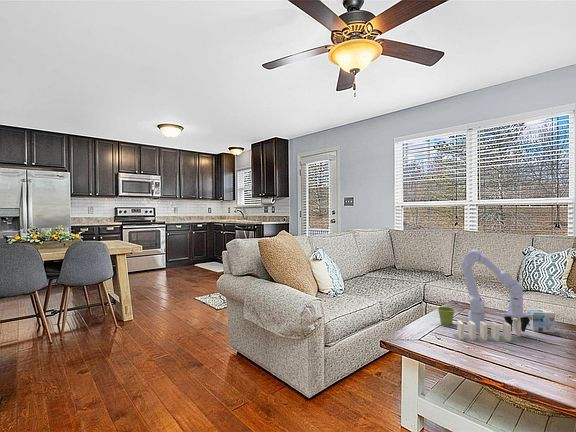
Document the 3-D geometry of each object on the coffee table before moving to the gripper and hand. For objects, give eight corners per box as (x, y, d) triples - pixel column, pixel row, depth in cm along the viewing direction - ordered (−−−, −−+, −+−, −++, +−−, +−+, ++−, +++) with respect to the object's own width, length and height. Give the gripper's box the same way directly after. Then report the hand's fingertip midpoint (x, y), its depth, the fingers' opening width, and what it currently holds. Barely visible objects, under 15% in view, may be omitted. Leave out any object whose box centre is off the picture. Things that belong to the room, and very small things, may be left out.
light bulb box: (532, 331, 173) (532, 312, 172) (526, 327, 179) (526, 308, 179) (555, 332, 170) (555, 312, 170) (548, 328, 177) (548, 309, 176)
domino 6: (517, 336, 167) (517, 321, 167) (512, 332, 172) (512, 318, 172) (520, 336, 167) (520, 321, 166) (515, 332, 172) (515, 318, 171)
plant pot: (442, 319, 195) (441, 305, 195) (458, 323, 187) (457, 308, 187) (434, 323, 189) (434, 308, 189) (450, 327, 182) (450, 312, 181)
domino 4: (495, 340, 162) (495, 325, 162) (491, 336, 167) (491, 321, 167) (499, 340, 162) (499, 325, 162) (494, 336, 167) (494, 321, 166)
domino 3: (484, 340, 163) (483, 324, 163) (480, 336, 168) (479, 321, 168) (487, 340, 163) (487, 324, 163) (483, 336, 168) (483, 321, 167)
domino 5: (507, 341, 161) (507, 325, 161) (503, 337, 166) (502, 321, 166) (511, 341, 161) (511, 325, 161) (506, 337, 166) (506, 322, 165)
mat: (452, 334, 172) (452, 334, 172) (522, 337, 166) (522, 336, 166) (457, 340, 164) (457, 340, 164) (531, 343, 158) (531, 343, 158)
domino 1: (460, 339, 165) (460, 323, 165) (457, 335, 170) (457, 320, 170) (464, 339, 165) (463, 323, 165) (460, 335, 170) (460, 320, 169)
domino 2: (472, 339, 164) (472, 324, 164) (468, 335, 169) (468, 320, 169) (475, 339, 164) (475, 324, 164) (471, 335, 169) (471, 320, 168)
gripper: (504, 307, 166) (505, 333, 167) (536, 308, 164) (536, 334, 164) (498, 303, 173) (498, 328, 174) (528, 304, 171) (528, 329, 171)
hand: (516, 330), depth 169 cm, fingers open, 5 cm apart
